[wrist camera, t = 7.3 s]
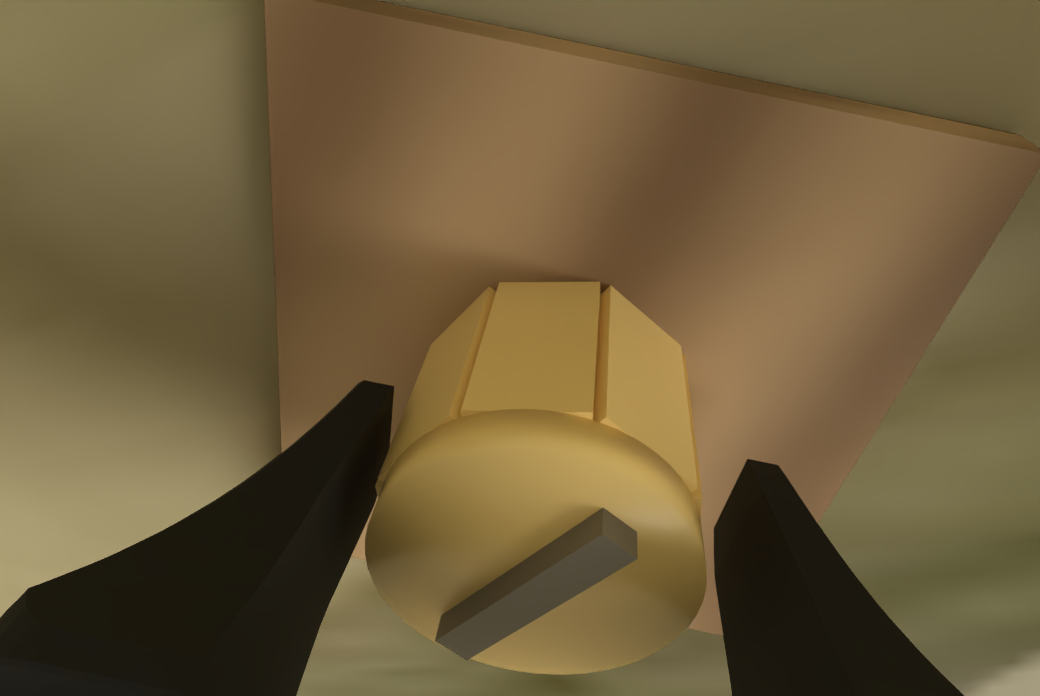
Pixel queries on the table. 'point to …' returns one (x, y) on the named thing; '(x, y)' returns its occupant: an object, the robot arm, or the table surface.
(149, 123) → the table surface
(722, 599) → the robot arm
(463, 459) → the cap
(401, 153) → the post board
